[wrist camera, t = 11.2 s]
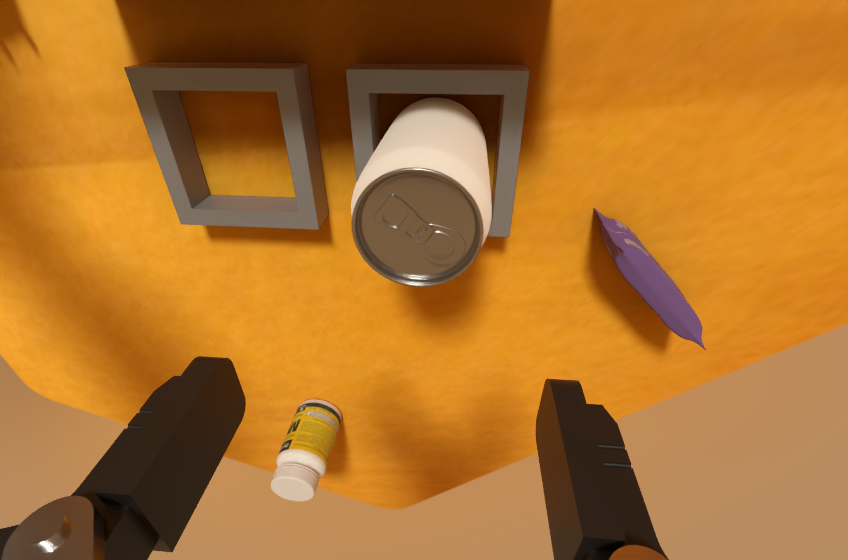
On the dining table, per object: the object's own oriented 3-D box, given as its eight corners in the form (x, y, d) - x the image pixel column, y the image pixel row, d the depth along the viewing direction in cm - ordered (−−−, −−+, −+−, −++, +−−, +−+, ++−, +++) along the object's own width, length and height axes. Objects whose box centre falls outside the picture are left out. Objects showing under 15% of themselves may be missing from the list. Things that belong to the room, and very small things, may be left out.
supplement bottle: (302, 392, 43) (269, 469, 36) (347, 405, 43) (323, 484, 36) (294, 419, 45) (262, 495, 38) (336, 431, 46) (313, 509, 39)
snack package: (580, 215, 30) (598, 251, 25) (605, 198, 29) (628, 232, 25) (665, 313, 33) (693, 358, 29) (689, 300, 33) (721, 344, 28)
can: (445, 211, 30) (432, 317, 20) (369, 156, 28) (314, 242, 19) (507, 138, 27) (527, 222, 17) (425, 72, 25) (395, 121, 15)
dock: (187, 209, 32) (101, 273, 25) (105, -28, 24) (-60, -38, 16) (520, 221, 30) (537, 295, 23) (555, -32, 22) (598, -46, 14)
